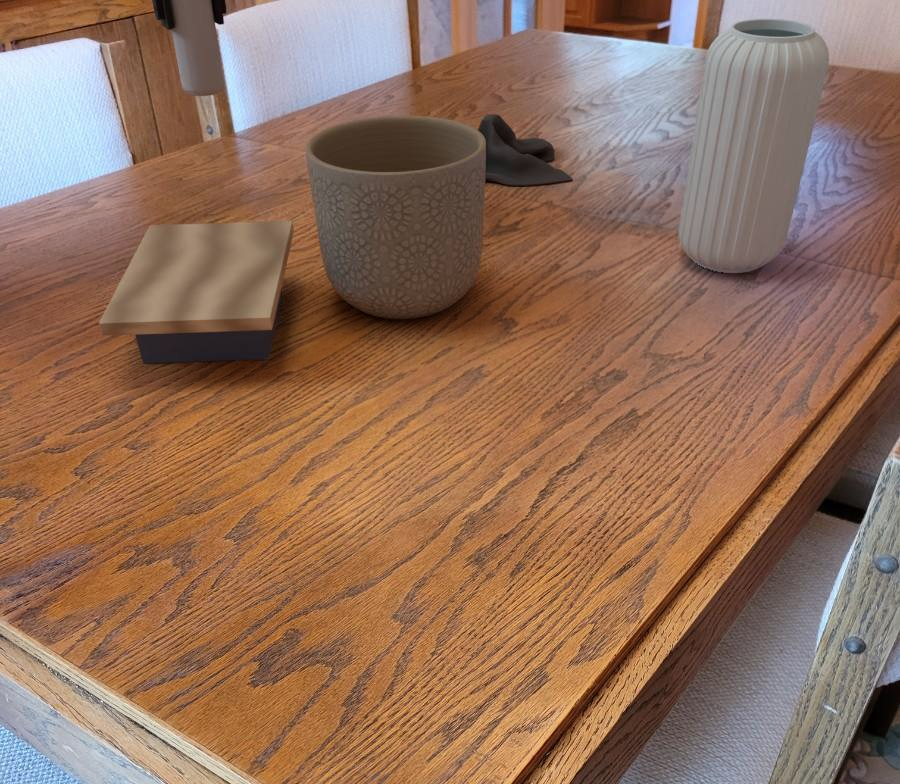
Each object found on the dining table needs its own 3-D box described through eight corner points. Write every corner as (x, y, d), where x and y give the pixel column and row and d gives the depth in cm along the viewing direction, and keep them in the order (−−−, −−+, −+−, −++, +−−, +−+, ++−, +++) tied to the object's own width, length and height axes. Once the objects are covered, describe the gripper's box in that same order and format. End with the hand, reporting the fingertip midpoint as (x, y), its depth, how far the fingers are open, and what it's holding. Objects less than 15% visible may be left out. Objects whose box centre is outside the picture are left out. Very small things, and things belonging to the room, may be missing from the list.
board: (102, 335, 79) (98, 323, 79) (152, 236, 95) (149, 225, 95) (272, 330, 80) (270, 317, 79) (294, 231, 96) (292, 220, 95)
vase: (653, 257, 101) (685, 27, 86) (717, 230, 106) (759, 9, 91) (737, 291, 95) (788, 49, 79) (801, 260, 100) (861, 27, 84)
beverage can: (212, 83, 107) (192, -39, 99) (232, 92, 104) (214, -34, 96) (175, 90, 105) (152, -35, 96) (195, 99, 102) (173, -29, 94)
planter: (515, 309, 92) (520, 150, 82) (367, 352, 87) (352, 186, 76) (435, 252, 103) (431, 105, 93) (299, 287, 97) (277, 133, 87)
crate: (143, 363, 86) (129, 314, 82) (170, 298, 96) (159, 251, 92) (269, 359, 86) (260, 309, 83) (283, 294, 96) (276, 247, 93)
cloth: (398, 180, 120) (396, 130, 116) (444, 137, 133) (443, 90, 129) (561, 196, 115) (564, 145, 111) (592, 150, 127) (596, 102, 123)
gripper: (229, -197, 93) (255, 11, 105) (59, -194, 87) (108, 26, 99) (252, -194, 88) (277, 23, 100) (73, -191, 82) (123, 39, 95)
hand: (192, 22), depth 100 cm, fingers closed on beverage can, 4 cm apart
